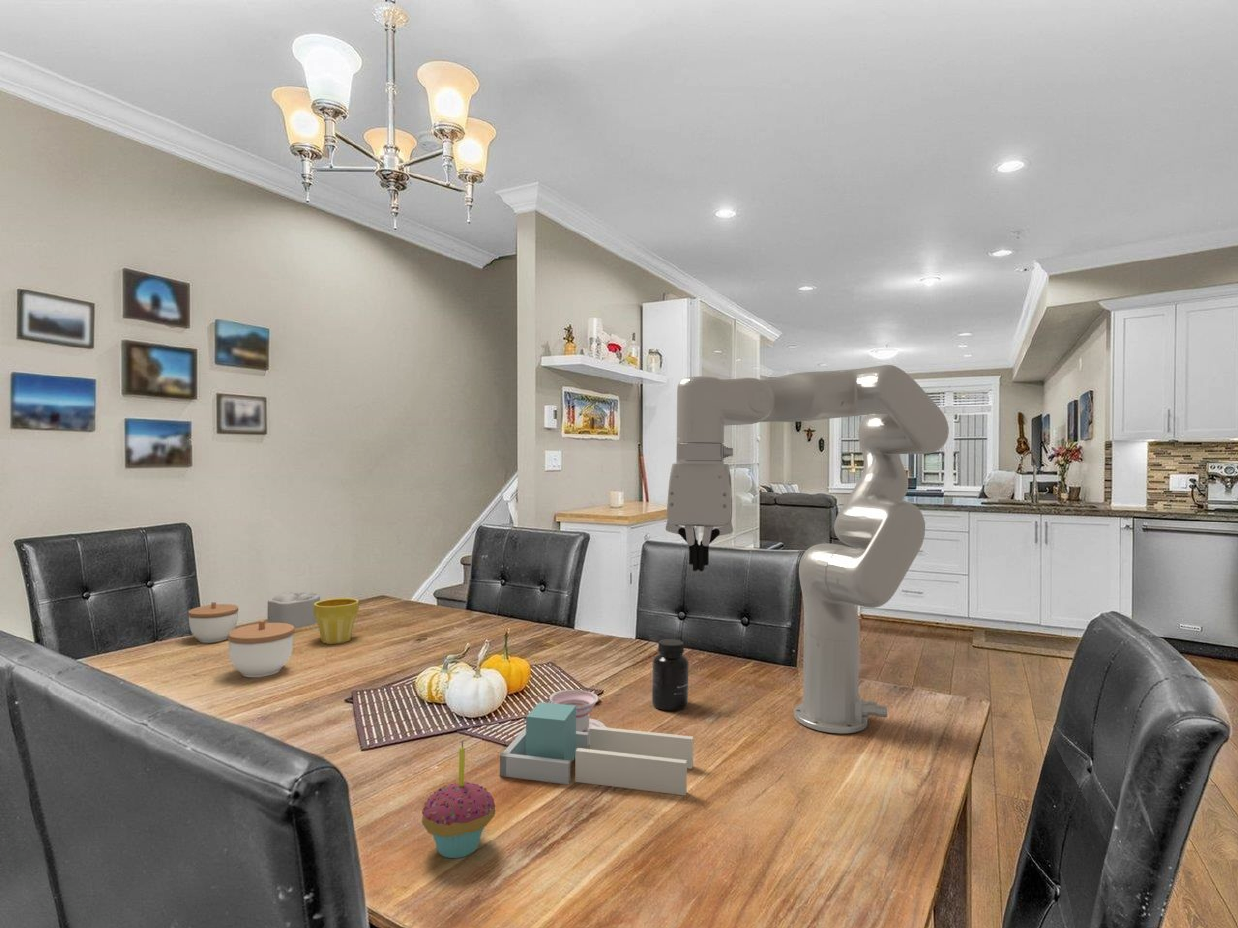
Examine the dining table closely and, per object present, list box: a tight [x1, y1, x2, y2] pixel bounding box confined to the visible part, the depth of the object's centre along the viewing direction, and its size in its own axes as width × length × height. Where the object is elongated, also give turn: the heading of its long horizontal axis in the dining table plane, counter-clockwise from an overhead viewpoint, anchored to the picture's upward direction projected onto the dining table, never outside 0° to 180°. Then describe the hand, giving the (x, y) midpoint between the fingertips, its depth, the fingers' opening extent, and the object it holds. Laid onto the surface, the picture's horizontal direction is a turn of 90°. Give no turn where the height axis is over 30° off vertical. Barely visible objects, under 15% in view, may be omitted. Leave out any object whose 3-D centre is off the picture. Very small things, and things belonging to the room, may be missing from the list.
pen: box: [499, 726, 590, 785], centre depth 101 cm, size 10×11×3 cm
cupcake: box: [421, 740, 496, 859], centre depth 79 cm, size 9×8×12 cm
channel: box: [574, 726, 694, 796], centre depth 98 cm, size 16×9×4 cm, turn 77°
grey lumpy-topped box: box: [266, 589, 321, 630], centre depth 182 cm, size 10×13×9 cm
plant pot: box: [314, 597, 360, 645], centre depth 166 cm, size 10×10×10 cm
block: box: [525, 701, 576, 766], centre depth 101 cm, size 6×6×8 cm
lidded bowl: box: [227, 619, 296, 679], centre depth 141 cm, size 13×13×11 cm
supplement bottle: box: [651, 638, 690, 712], centre depth 125 cm, size 7×7×12 cm
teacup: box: [546, 689, 608, 747], centre depth 112 cm, size 12×12×6 cm
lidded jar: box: [187, 601, 239, 644], centre depth 166 cm, size 11×11×9 cm
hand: (698, 569), depth 105 cm, fingers closed
